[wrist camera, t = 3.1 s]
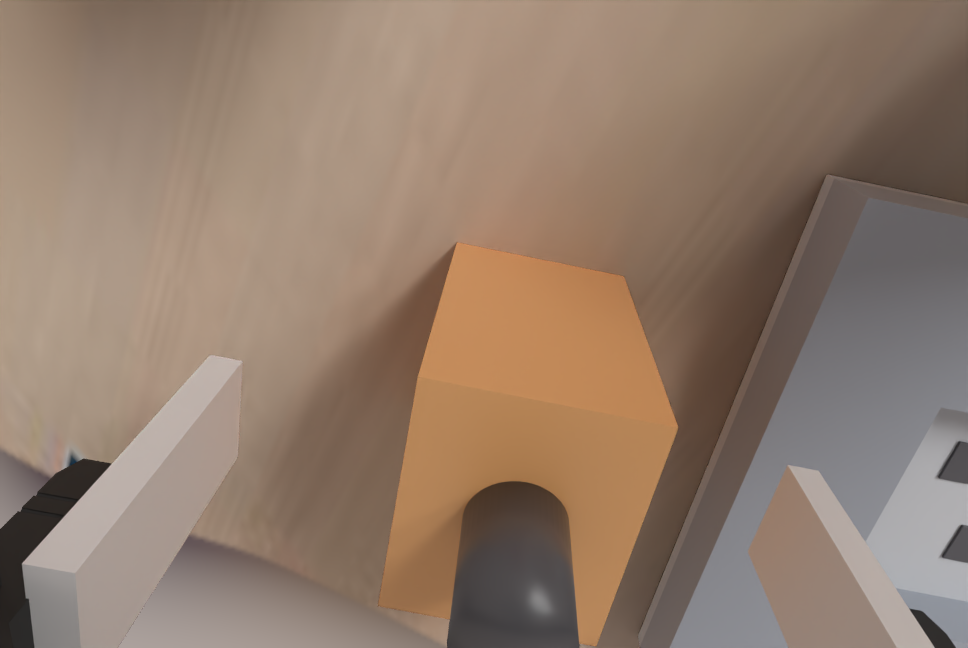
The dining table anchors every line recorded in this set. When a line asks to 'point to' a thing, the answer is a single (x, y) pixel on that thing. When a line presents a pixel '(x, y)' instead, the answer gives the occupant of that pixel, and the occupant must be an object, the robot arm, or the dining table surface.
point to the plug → (526, 454)
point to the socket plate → (843, 419)
